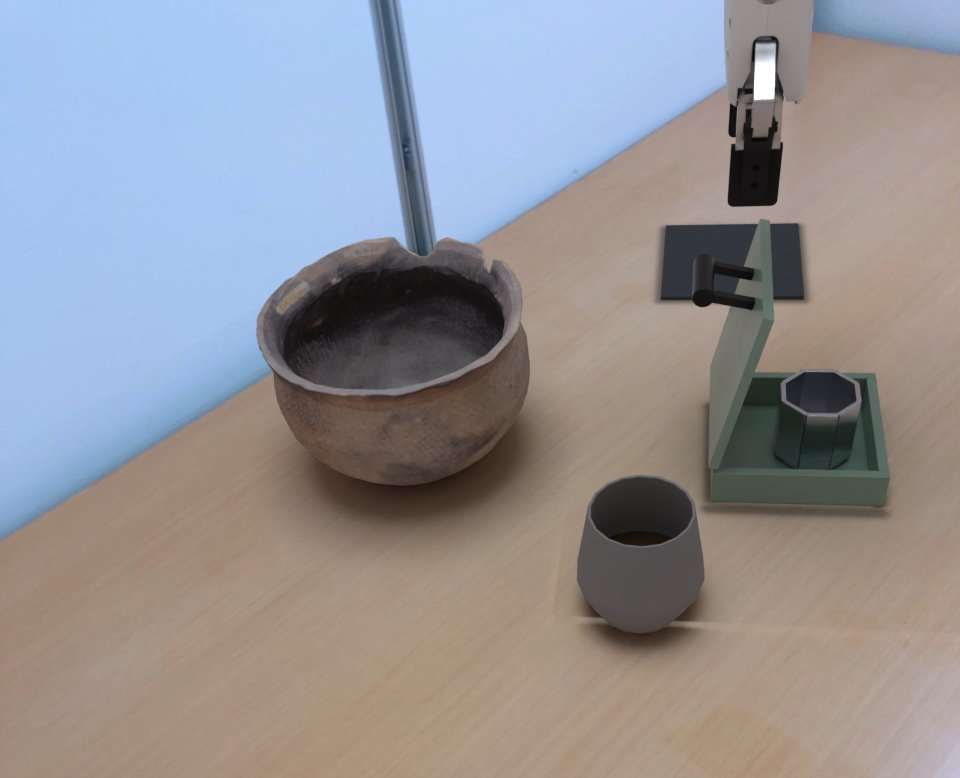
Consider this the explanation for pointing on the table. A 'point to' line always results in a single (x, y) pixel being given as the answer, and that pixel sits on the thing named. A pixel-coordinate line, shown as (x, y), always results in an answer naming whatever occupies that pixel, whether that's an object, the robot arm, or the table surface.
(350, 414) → the ceramic bowl
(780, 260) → the mat
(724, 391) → the box lid
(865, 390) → the green tray
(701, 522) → the table surface
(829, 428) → the octagonal grey canister
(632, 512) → the cup
